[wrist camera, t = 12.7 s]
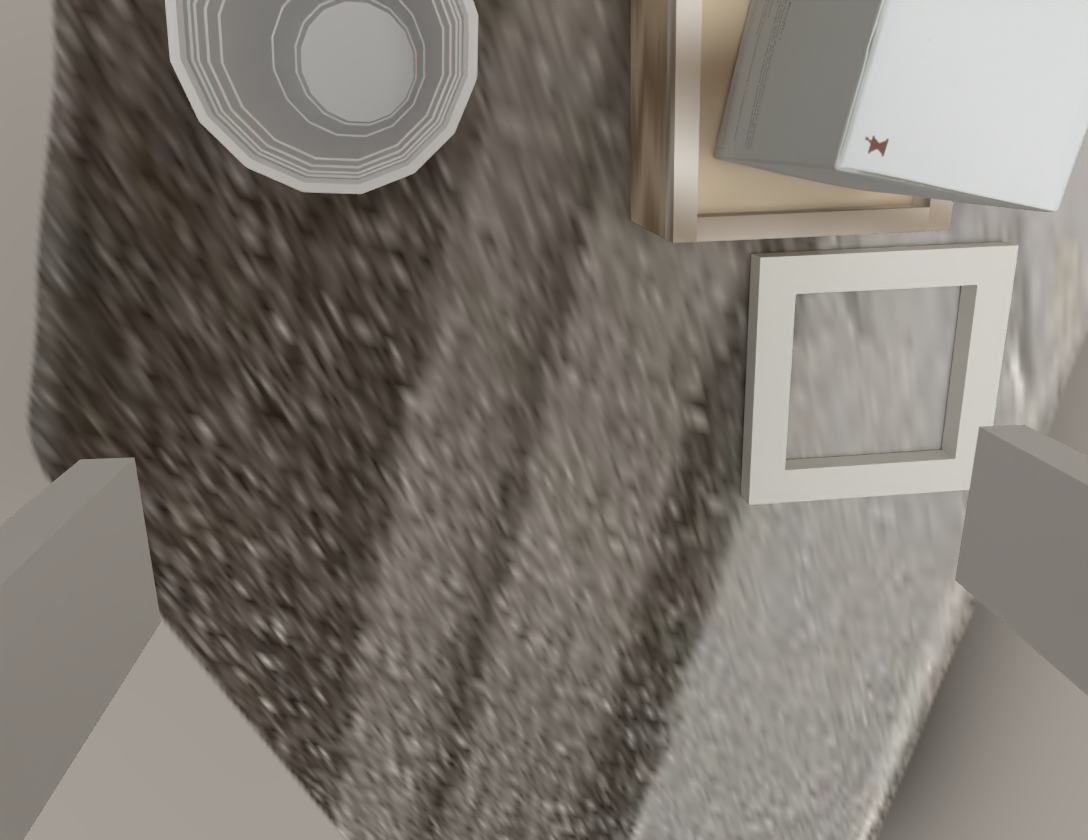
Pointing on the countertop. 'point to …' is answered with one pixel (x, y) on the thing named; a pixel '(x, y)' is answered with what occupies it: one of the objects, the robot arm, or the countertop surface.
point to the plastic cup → (327, 83)
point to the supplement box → (914, 96)
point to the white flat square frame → (790, 273)
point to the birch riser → (691, 135)
